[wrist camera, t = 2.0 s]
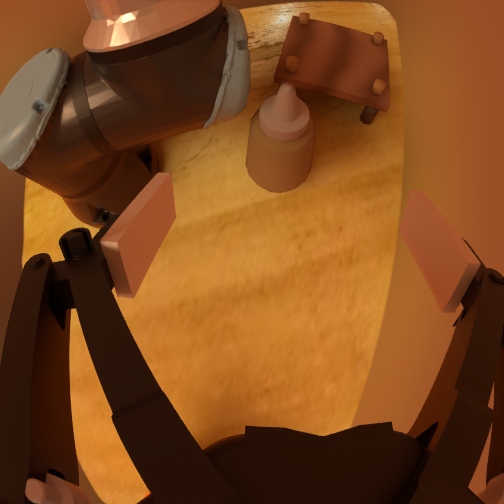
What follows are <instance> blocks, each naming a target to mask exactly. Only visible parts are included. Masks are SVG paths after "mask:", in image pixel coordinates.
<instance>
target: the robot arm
mask: <svg viewBox="0 0 504 504" xmlns="http://www.w3.org/2000/svg"><path fill="white" fill-rule="evenodd" d="M85 3H86V5H87V7H88V9H89V12H90V14H91V16H92V20H91V24H90V26H89V28H88V30H87V32H86V35H85V37H84V39H83V44H84V47H85V49H86V51H85V52H83V53H81V54H78V55H76V56H74V57H72V58H69V57H70V56H69V54H68V53H67V52H66V51H63V50H62V49H60V48H49V49H46V50H44V51H42V52H40V53H39V54H37V55H35V56H34V57H33V58H32V59H30V60H29V61H28V62H27V63H26V64H25V65H24V66H23V67H22V68H21V69H20V70H19V71H18V72H17V73H16V74H15V75H14V77H13V78H12V79H11V80H10V82H9V83H8V84H7V86H6V87H5V89H4V91H3V92H2V94H1V96H0V161H2V162H3V163H4V164H6V165H7V167H8V168H9V169H10V170H14V171H16V172H18V173H19V174H21V175H23V176H25V177H27V178H29V179H30V180H32V181H34V182H36V183H38V184H40V185H41V186H43V187H45V188H47V189H49V190H51V191H53V192H54V193H56V194H58V195H60V196H61V197H62V198H63V200H64V202H65V203H66V205H67V206H68V208H69V209H70V210H71V212H72V213H73V215H74V216H75V217H76V218H78V219H79V220H80V221H82V222H83V223H86V224H88V225H90V226H92V227H95V228H100V230H99V232H98V233H97V234H96V235H95V236H94V238H93V239H92V237H91V234H90V231H89V230H88V229H87V228H76V229H72V230H70V231H68V232H66V233H65V234H64V235H62V237H61V238H60V239H59V245H60V248H61V250H62V253H63V256H64V258H65V260H64V261H58V262H52V260H51V257H50V256H49V254H46V253H40V254H37V255H34V256H33V257H31V258H30V259H29V260H28V261H27V262H26V264H25V265H24V268H23V271H22V274H21V278H20V281H19V284H18V287H17V291H16V294H15V298H14V302H13V305H12V309H11V313H10V317H9V322H8V326H7V331H6V336H5V341H4V346H3V353H2V358H1V364H0V504H91V503H90V501H89V498H88V496H87V495H86V493H85V492H84V491H83V490H82V489H81V488H79V471H78V462H77V455H76V448H75V441H74V432H73V423H72V412H71V398H70V374H69V343H70V319H71V309H73V308H76V310H77V313H78V317H79V321H80V324H81V327H82V331H83V334H84V337H85V341H86V344H87V347H88V350H89V353H90V356H91V359H92V361H93V364H94V367H95V370H96V373H97V375H98V378H99V380H100V383H101V386H102V388H103V391H104V393H105V395H106V398H107V400H108V403H109V405H110V407H111V410H112V413H113V415H112V416H111V417H112V421H113V423H114V426H115V428H116V430H117V432H118V435H119V437H120V439H121V441H122V443H123V445H124V447H125V449H126V451H127V452H128V454H129V456H130V458H131V460H132V462H133V464H134V465H135V467H136V469H137V471H138V473H139V474H140V476H141V478H142V479H143V481H144V483H145V485H146V486H147V488H148V489H149V491H150V494H149V495H148V496H146V497H145V498H144V499H142V500H141V501H140V502H138V503H137V504H504V277H503V276H502V275H501V274H500V273H499V272H497V271H496V270H494V269H490V268H486V267H485V266H484V264H483V263H482V261H481V260H480V259H479V257H478V256H477V255H476V254H475V252H474V251H473V249H471V247H470V246H469V244H468V243H467V242H466V241H465V240H464V239H463V238H461V236H460V235H459V234H458V233H457V231H456V230H455V229H454V228H453V227H452V225H451V224H450V223H449V222H448V221H447V219H446V218H445V217H444V216H443V215H442V214H441V212H440V211H439V210H438V209H437V208H436V207H435V206H434V204H433V203H432V202H431V201H430V200H429V199H428V198H427V197H426V196H425V195H424V194H423V192H422V191H415V190H410V194H409V198H408V202H407V205H406V209H405V212H404V216H403V219H402V222H401V226H400V229H399V233H400V234H401V236H402V238H403V239H404V241H405V243H406V244H407V246H408V248H409V249H410V251H411V253H412V255H413V257H414V258H415V260H416V262H417V264H418V266H419V268H420V270H421V271H422V273H423V275H424V277H425V279H426V281H427V283H428V285H429V287H430V289H431V291H432V293H433V295H434V297H435V299H436V301H437V303H438V305H439V307H440V309H441V311H442V313H449V312H455V311H456V309H457V307H458V306H459V304H460V302H461V304H462V305H463V307H464V309H463V310H462V312H461V314H460V315H459V317H458V319H457V320H456V322H455V323H454V325H453V326H454V327H455V326H456V328H455V331H454V334H453V337H452V340H451V343H450V345H449V348H448V351H447V353H446V356H445V358H444V361H443V363H442V366H441V368H440V371H439V373H438V375H437V378H436V380H435V382H434V385H433V387H432V389H431V391H430V393H429V395H428V397H427V399H426V401H425V403H424V405H423V407H422V410H421V412H420V413H419V415H418V417H417V419H416V421H415V423H414V425H413V426H412V428H411V429H410V431H409V432H408V433H407V434H404V433H402V432H398V431H394V430H393V427H392V422H385V423H377V424H367V425H359V426H356V427H353V428H349V429H346V430H343V431H340V432H337V433H334V434H330V435H327V436H319V435H314V434H309V433H305V432H300V431H296V430H292V429H288V428H280V427H256V426H246V427H245V434H240V435H235V436H231V437H228V438H225V439H222V440H220V441H217V442H215V443H214V444H212V445H210V446H208V447H207V448H205V449H204V450H202V449H201V447H200V446H199V445H198V443H197V442H196V440H195V439H194V437H193V436H192V435H191V433H190V432H189V430H188V429H187V427H186V426H185V424H184V423H183V421H182V420H181V418H180V417H179V415H178V413H177V412H176V410H175V409H174V407H173V406H172V404H171V402H170V401H169V399H168V398H167V396H166V395H165V393H164V392H163V391H162V390H161V388H160V386H159V385H158V383H157V381H156V379H155V378H154V376H153V374H152V372H151V370H150V369H149V367H148V365H147V363H146V361H145V359H144V358H143V356H142V354H141V352H140V350H139V348H138V346H137V344H136V342H135V340H134V338H133V336H132V334H131V332H130V330H129V328H128V326H127V324H126V322H125V320H124V317H123V315H122V313H121V311H120V309H119V307H118V304H117V302H116V300H115V298H114V295H113V293H112V291H111V290H112V289H113V287H115V290H116V293H117V296H118V297H126V298H134V297H135V295H136V293H137V291H138V289H139V287H140V285H141V283H142V281H143V279H144V277H145V275H146V273H147V271H148V269H149V267H150V265H151V263H152V261H153V259H154V257H155V255H156V253H157V251H158V249H159V247H160V246H161V244H162V242H163V240H164V238H165V236H166V234H167V233H168V231H169V229H170V227H171V225H172V224H173V222H174V220H175V218H176V213H175V204H174V195H173V185H172V174H171V172H166V173H159V162H158V158H157V155H156V152H155V150H154V149H153V147H152V146H151V144H150V142H154V141H157V140H160V139H163V138H167V137H170V136H174V135H177V134H181V133H185V132H188V131H192V130H196V129H204V128H207V127H209V126H210V125H211V124H215V123H218V122H221V121H225V120H228V119H231V118H234V117H235V116H237V115H238V114H240V113H241V112H242V110H243V109H244V107H245V105H246V103H247V100H248V96H249V89H250V52H249V50H248V48H247V45H248V38H247V30H246V26H245V22H244V19H243V16H242V14H241V12H240V11H239V9H238V8H237V7H234V6H228V5H222V0H85ZM493 383H494V409H493V410H492V409H490V408H489V407H488V402H489V399H490V394H491V391H492V387H493ZM492 421H493V423H492ZM491 424H492V433H491V442H490V449H489V456H488V464H487V476H486V488H485V490H484V491H482V492H481V493H479V495H478V496H476V495H475V494H474V493H473V492H472V491H471V490H470V489H469V488H468V486H469V484H470V481H471V479H472V477H473V474H474V472H475V469H476V467H477V465H478V462H479V459H480V457H481V454H482V451H483V449H484V446H485V443H486V440H487V437H488V434H489V431H490V427H491Z"/></svg>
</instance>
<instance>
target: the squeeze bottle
mask: <svg viewBox="0 0 504 504" xmlns="http://www.w3.org/2000/svg"><path fill="white" fill-rule="evenodd" d="M314 139H315V125H314V122H313V120H312V118H311V116H310V111H309V109H308V107H307V105H306V104H305V103H304V102H303V101H302V100H301V99H300V98H297V95H296V90H295V86H294V85H293V84H292V83H289V82H286V83H283V84H282V85H281V86H280V88H279V91H278V93H277V95H272V96H271V97H269V98H267V99H265V100H264V102H263V103H262V105H261V106H260V109H259V110H257V112H256V113H255V114H254V116H253V117H252V119H251V125H250V132H249V140H248V148H247V156H246V167H247V170H248V173H249V176H250V177H251V178H252V179H253V180H254V181H255V182H256V184H257V185H259V186H261V187H262V188H264V189H266V190H268V191H270V192H275V193H281V192H285V191H289V190H292V189H295V188H296V187H298V186H299V185H300V184H302V183H303V182H304V181H305V180H306V178H307V176H308V174H309V173H310V169H311V162H312V154H313V146H314Z"/></svg>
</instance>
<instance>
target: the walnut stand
mask: <svg viewBox="0 0 504 504" xmlns="http://www.w3.org/2000/svg"><path fill="white" fill-rule="evenodd" d="M309 18H310V15H309V14H308V13H304V12H303V13H300V15H299V17H298V16H293V17H292V20H291V23H290V27H289V30H288V33H287V36H286V39H285V42H284V46H283V49H282V52H281V55H280V58H279V62H278V65H277V68H276V72H275V75H274V83H278V84H279V88H280V86H281V85H282V84H283V83H286V82H289V83H292V84H293V85H294V86H295V87H298V88H302V89H307V90H311V91H315V92H319V93H323V94H327V95H331V96H335V97H339V98H342V99H346V100H349V101H353V102H356V103H359V104H363V105H366V107H365V109H364V110H363V112H362V114H361V116H360V119H361V121H362V122H363V123H364V124H367V125H369V124H371V123H372V121H373V120H374V118H375V116H376V115H377V113H378V111H379V110H381V111H384V112H386V111H387V110H388V108H389V106H390V102H389V65H388V49H387V40H385V39H383V38H384V35H383V34H382V33H380V32H375V33H374V35H370V34H367V33H364V32H360V31H357V30H354V29H350V28H347V27H343V26H339V25H335V24H331V23H327V22H323V21H318V20H313V19H309ZM279 88H278V91H279Z"/></svg>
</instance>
